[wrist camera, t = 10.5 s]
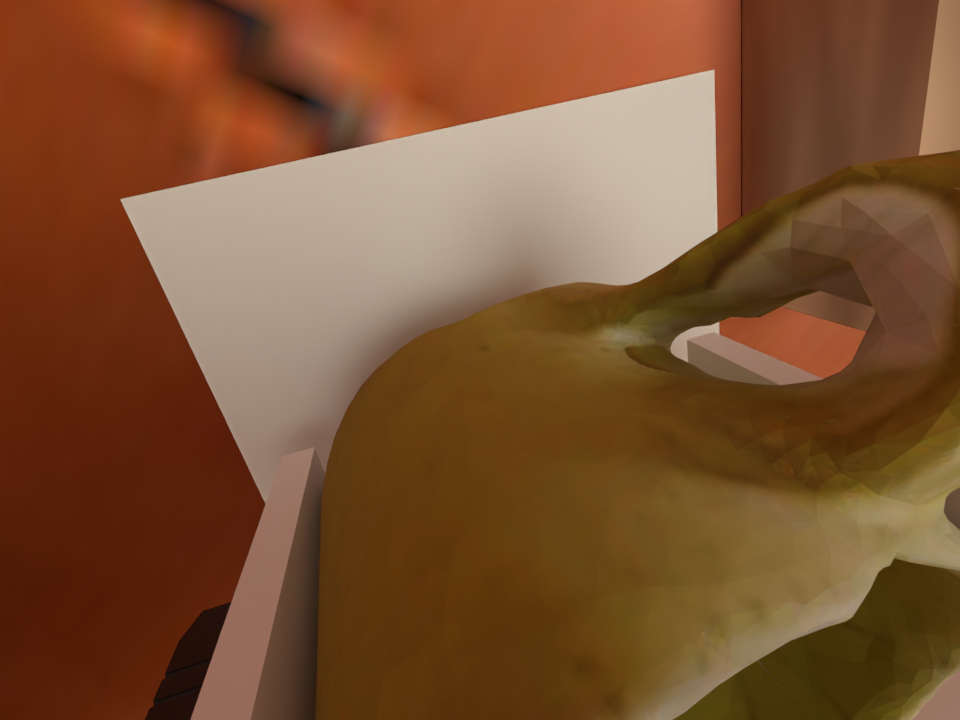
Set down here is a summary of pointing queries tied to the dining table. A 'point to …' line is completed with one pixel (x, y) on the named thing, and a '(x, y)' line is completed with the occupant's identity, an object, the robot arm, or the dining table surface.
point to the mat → (419, 245)
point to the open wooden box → (843, 98)
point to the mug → (663, 489)
